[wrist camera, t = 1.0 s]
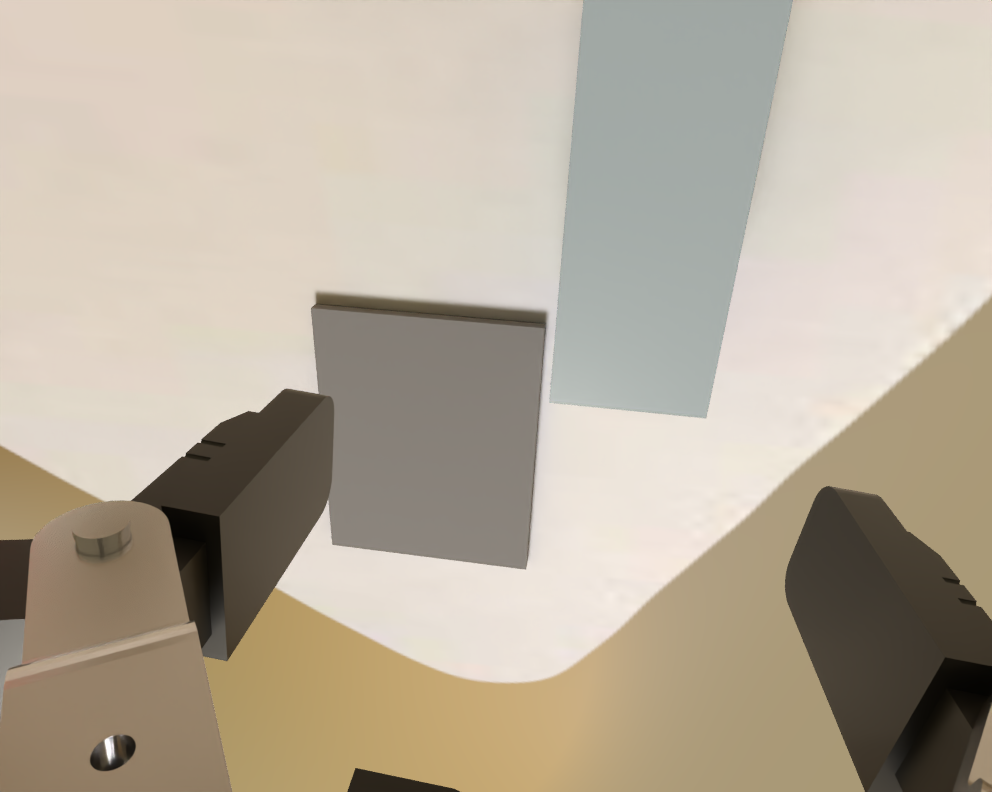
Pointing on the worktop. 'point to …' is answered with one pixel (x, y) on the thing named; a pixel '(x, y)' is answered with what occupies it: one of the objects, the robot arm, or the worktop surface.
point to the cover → (660, 195)
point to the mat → (431, 431)
